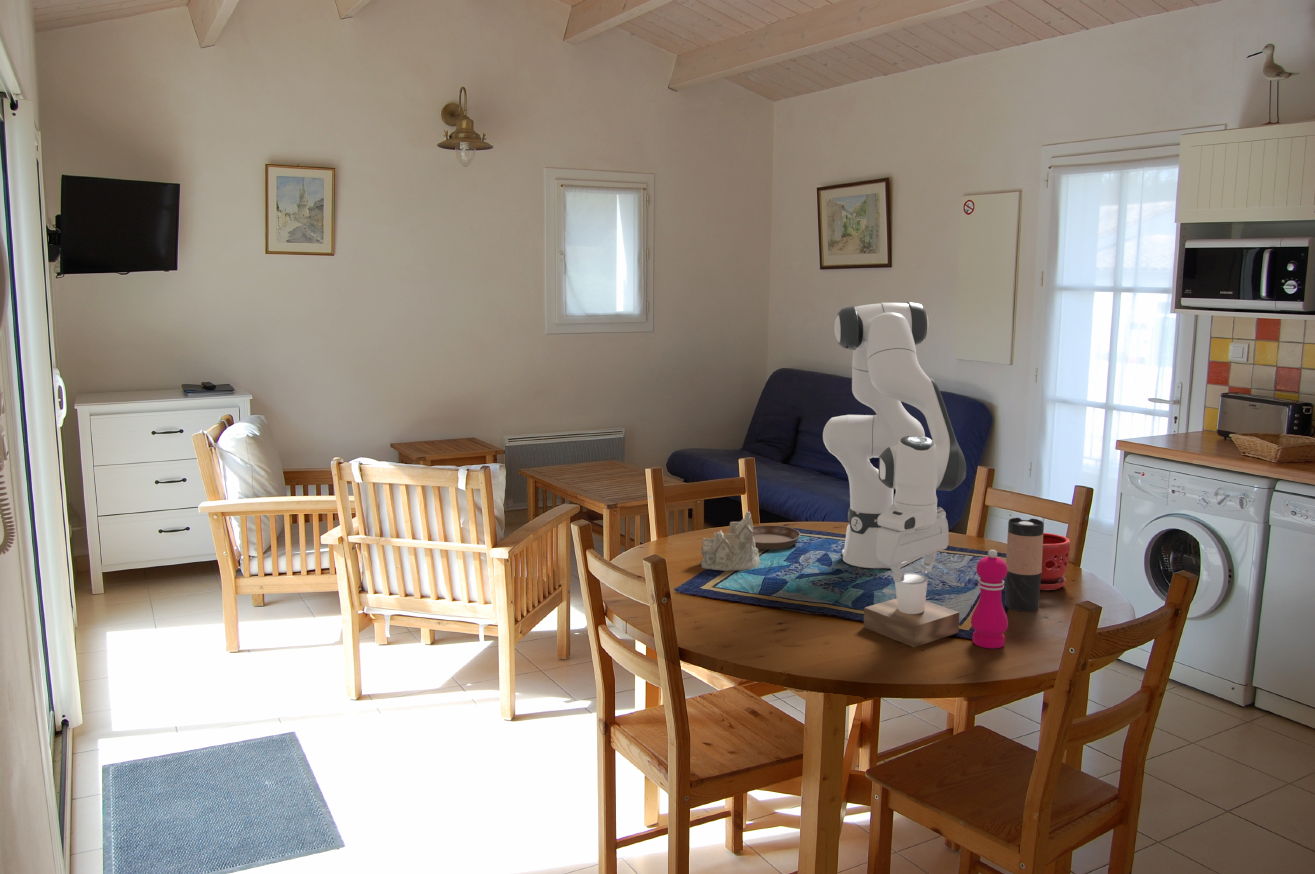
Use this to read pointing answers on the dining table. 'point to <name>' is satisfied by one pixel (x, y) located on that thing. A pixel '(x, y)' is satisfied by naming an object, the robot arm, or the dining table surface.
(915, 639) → the walnut base block
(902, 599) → the white cup
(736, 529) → the ceramic cottage
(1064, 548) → the plant pot
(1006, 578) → the travel mug
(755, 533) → the plant saucer
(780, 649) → the dining table surface
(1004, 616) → the pepper mill
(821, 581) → the dining table surface
